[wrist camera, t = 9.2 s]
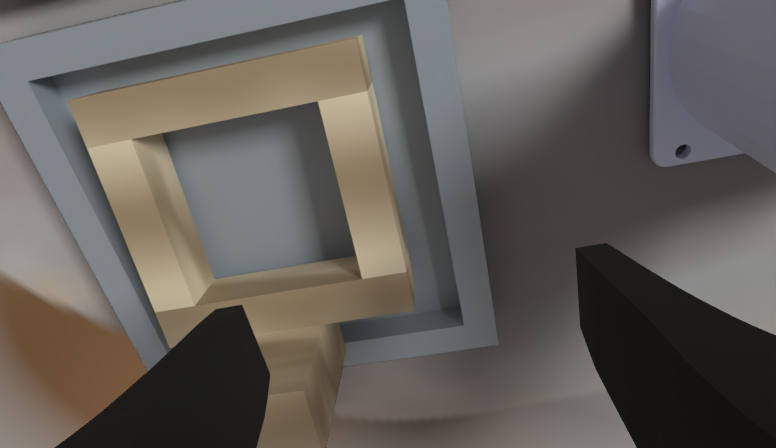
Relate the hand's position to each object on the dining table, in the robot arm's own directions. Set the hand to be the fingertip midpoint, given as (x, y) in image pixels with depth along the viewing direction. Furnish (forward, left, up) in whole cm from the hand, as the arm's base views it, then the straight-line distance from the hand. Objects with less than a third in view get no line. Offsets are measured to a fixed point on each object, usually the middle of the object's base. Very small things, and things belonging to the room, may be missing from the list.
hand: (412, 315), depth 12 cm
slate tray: (+5, 0, -9) cm, 11 cm away
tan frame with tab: (+5, +1, -8) cm, 10 cm away
